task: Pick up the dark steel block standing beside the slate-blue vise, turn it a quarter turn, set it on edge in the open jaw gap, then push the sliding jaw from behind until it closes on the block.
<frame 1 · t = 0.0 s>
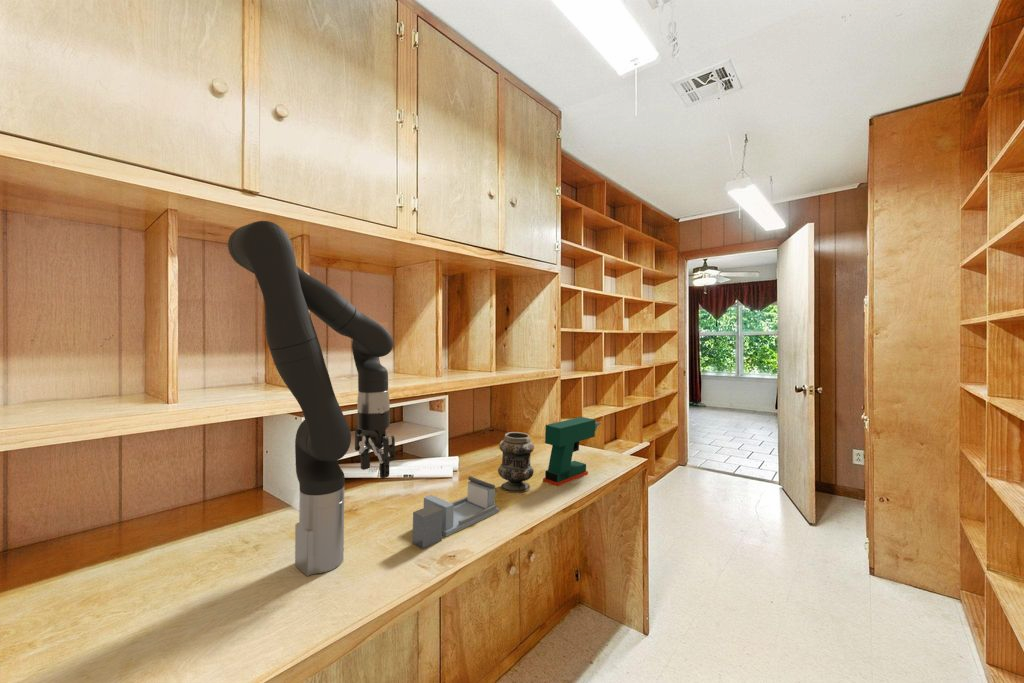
hand: (374, 473, 106), 17 cm above the counter, fingers open, 8 cm apart
free jaw: (480, 492, 127), point 5 cm above the counter, slide at 0.0 cm
power tool: (576, 473, 160), on the counter
vise base: (460, 517, 121), on the counter
block: (427, 542, 107), on the counter
apothecary jar: (515, 488, 144), on the counter
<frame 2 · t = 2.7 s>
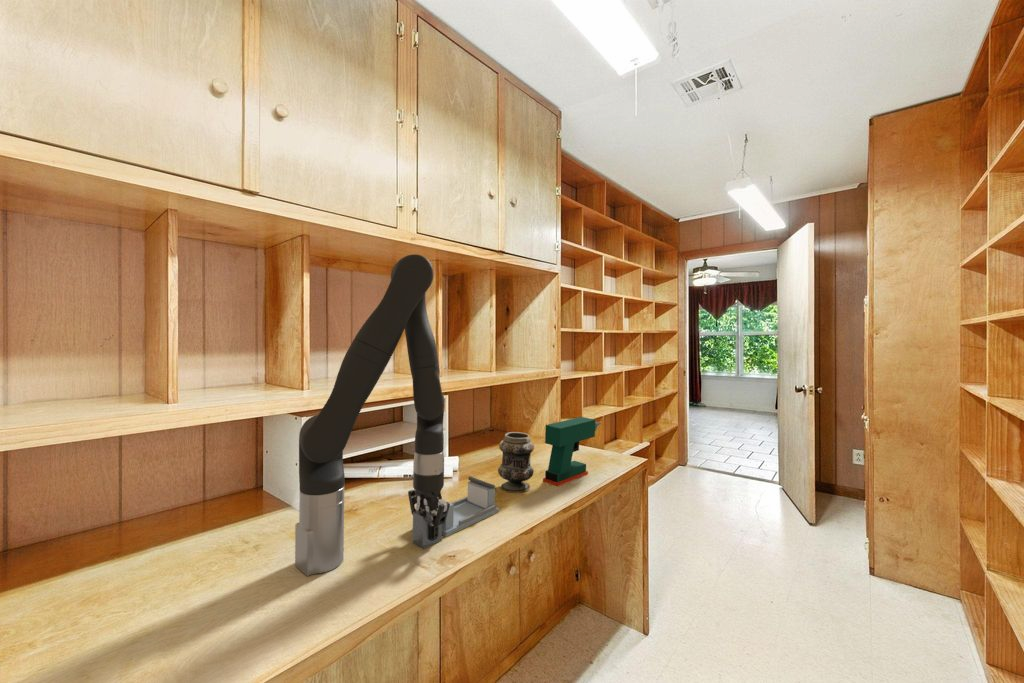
hand: (427, 536, 107), 1 cm above the counter, fingers closed on block, 4 cm apart
block: (427, 541, 107), on the counter, touching gripper
everything else where it was.
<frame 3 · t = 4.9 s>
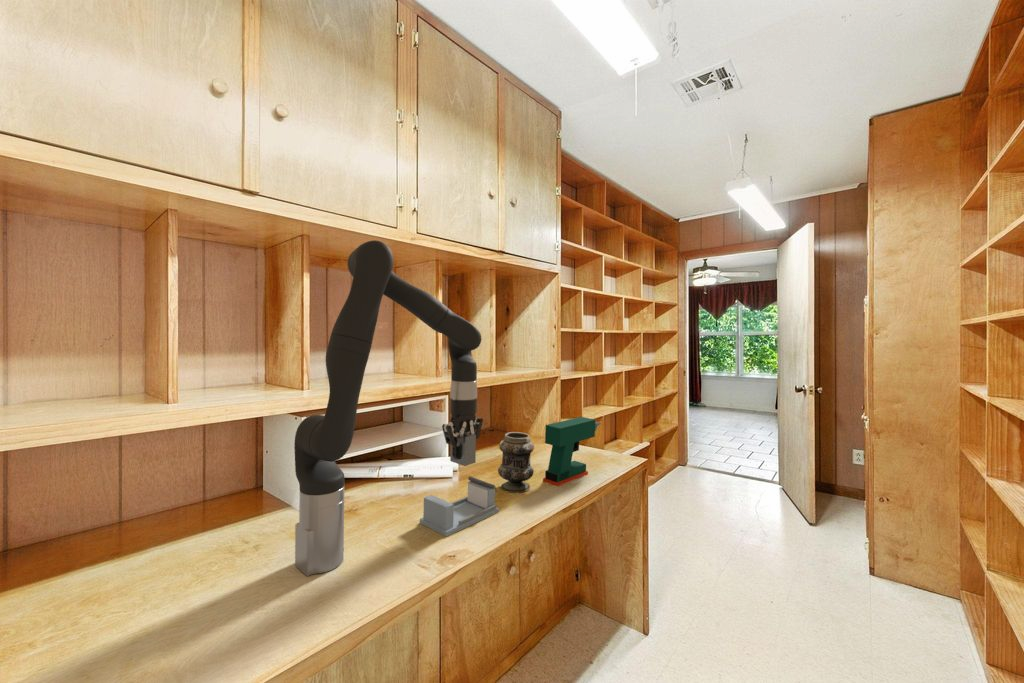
hand: (462, 456, 120), 18 cm above the counter, fingers closed on block, 4 cm apart
block: (462, 461, 120), point 16 cm above the counter, touching gripper
everything else where it was.
when the fingers open (4 cm above the counter, at t = 7.3 s): block drops 1 cm, resting on vise base.
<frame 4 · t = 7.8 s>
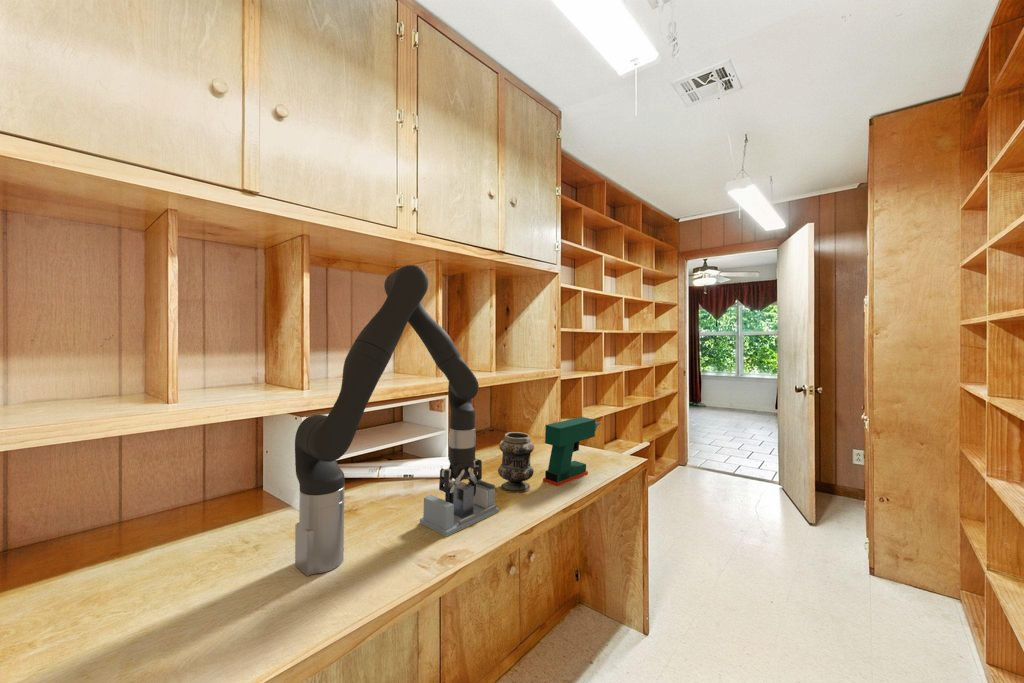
hand: (460, 500, 120), 5 cm above the counter, fingers open, 8 cm apart
block: (460, 513, 121), point 1 cm above the counter, touching vise base
everything else where it was.
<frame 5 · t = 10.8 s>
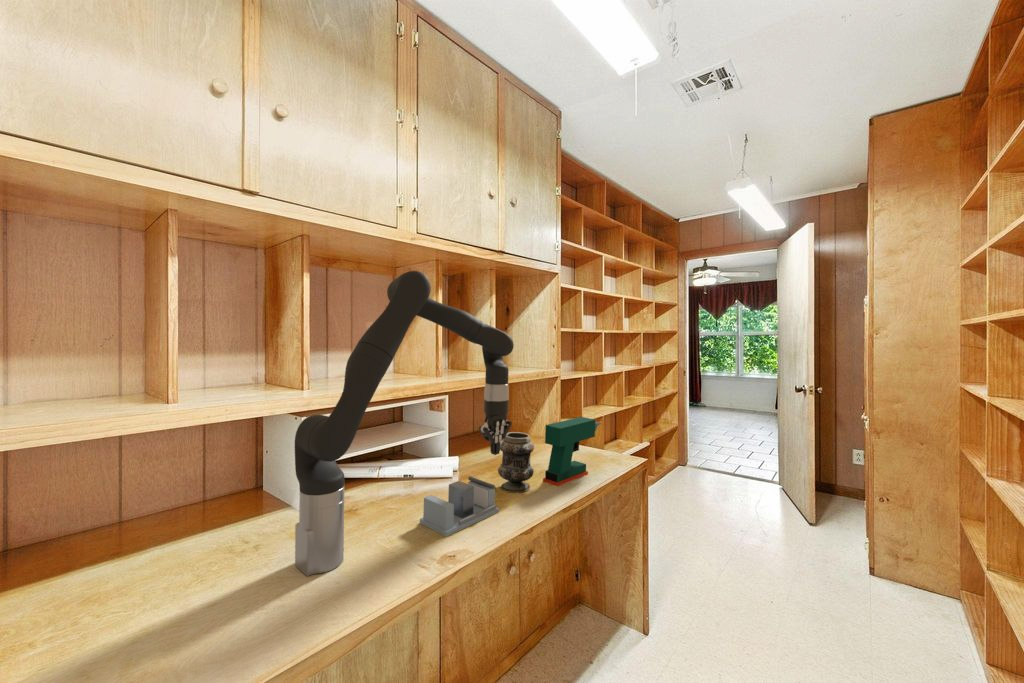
hand: (495, 453, 131), 15 cm above the counter, fingers closed
nothing on the counter moved.
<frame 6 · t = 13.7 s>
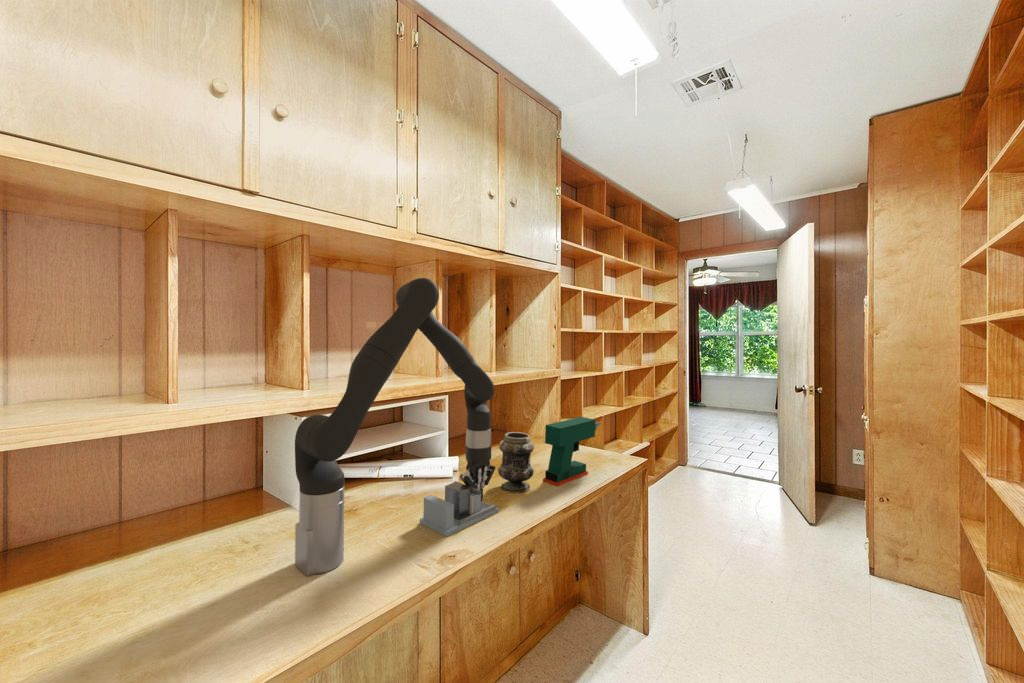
hand: (477, 501, 126), 3 cm above the counter, fingers closed
free jaw: (466, 498, 122), point 5 cm above the counter, slide at 5.9 cm, touching hand
block: (457, 514, 120), point 1 cm above the counter, touching vise base
everything else where it was.
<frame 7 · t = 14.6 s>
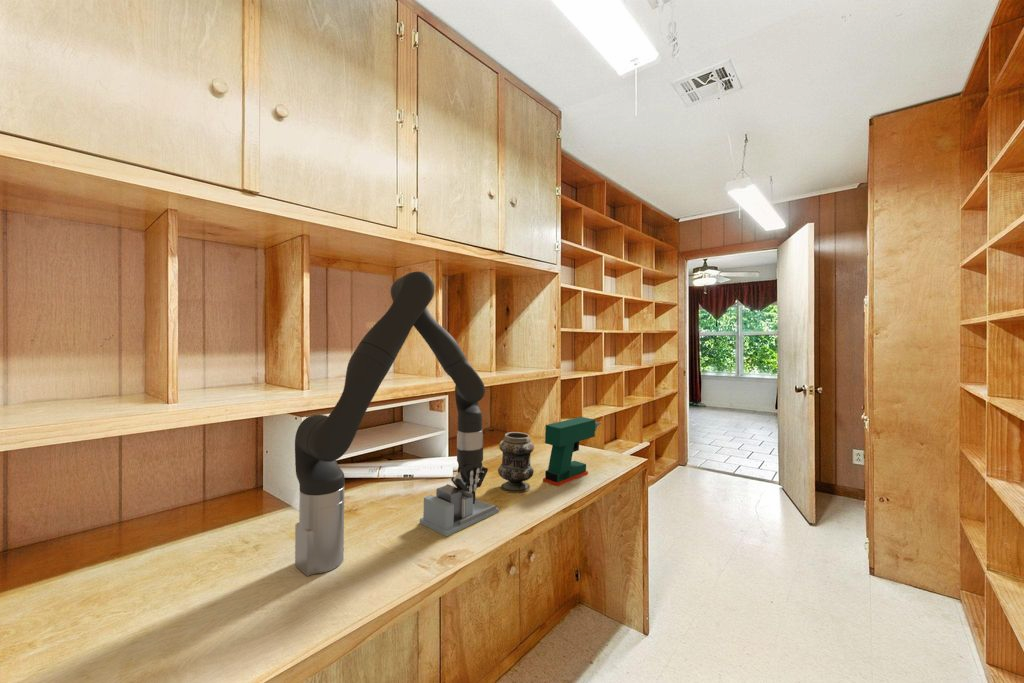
hand: (470, 504, 123), 3 cm above the counter, fingers closed
free jaw: (458, 501, 120), point 5 cm above the counter, slide at 9.0 cm, touching block, gripper, hand
block: (448, 518, 117), point 1 cm above the counter, touching free jaw, vise base
everything else where it was.
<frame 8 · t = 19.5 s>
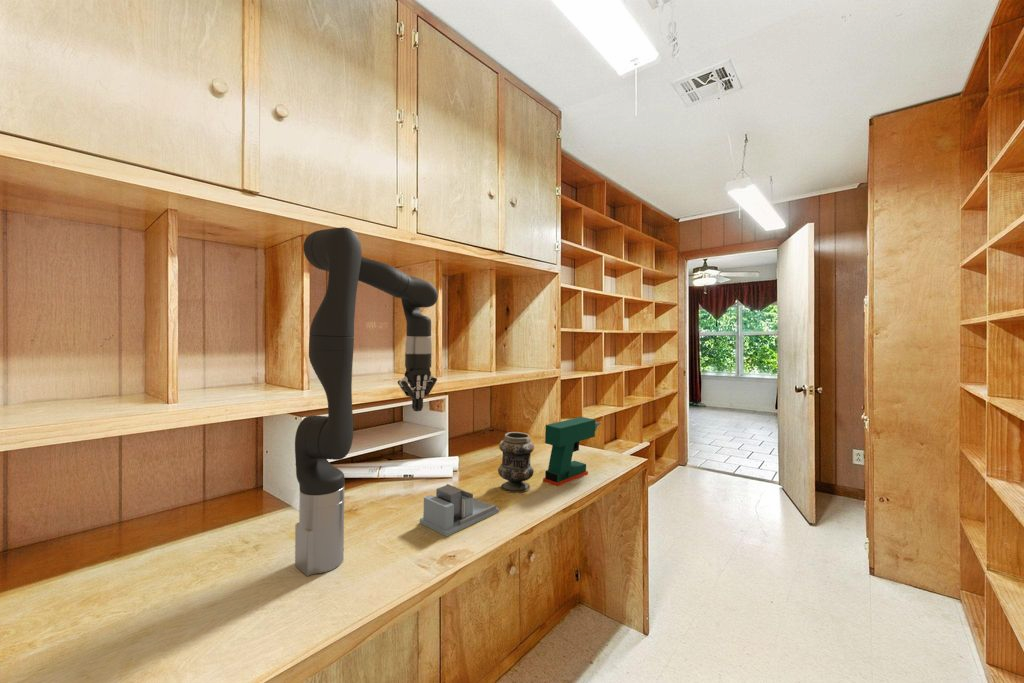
hand: (417, 410, 125), 29 cm above the counter, fingers closed
free jaw: (458, 501, 120), point 5 cm above the counter, slide at 9.0 cm
block: (448, 518, 117), point 1 cm above the counter, touching vise base
everything else where it was.
at the end: free jaw slide at 9.0 cm; block 0.5 cm from the target spot on the vise base, point 1.2 cm above the vise base's base; block tilted 0° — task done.
